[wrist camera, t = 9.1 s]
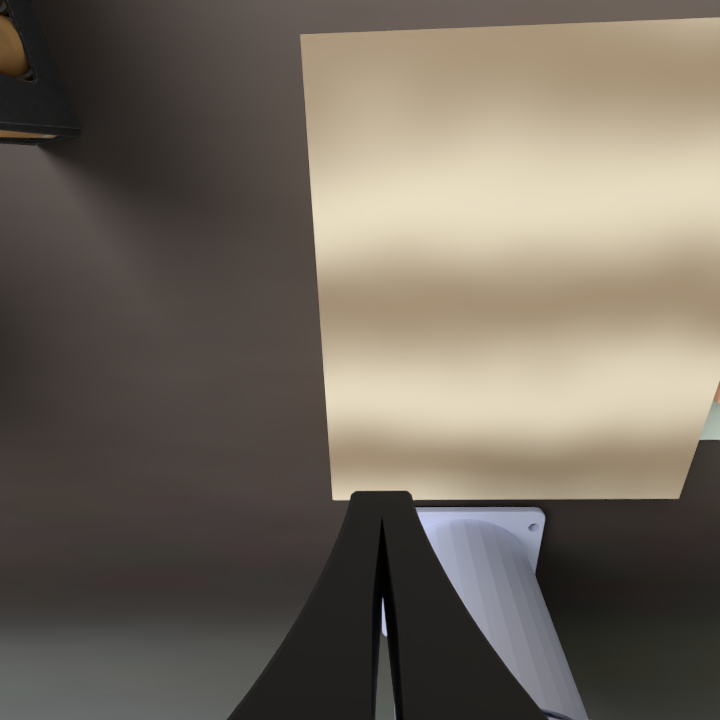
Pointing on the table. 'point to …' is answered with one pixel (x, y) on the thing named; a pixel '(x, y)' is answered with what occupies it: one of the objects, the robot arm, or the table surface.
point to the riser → (517, 256)
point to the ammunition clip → (30, 82)
